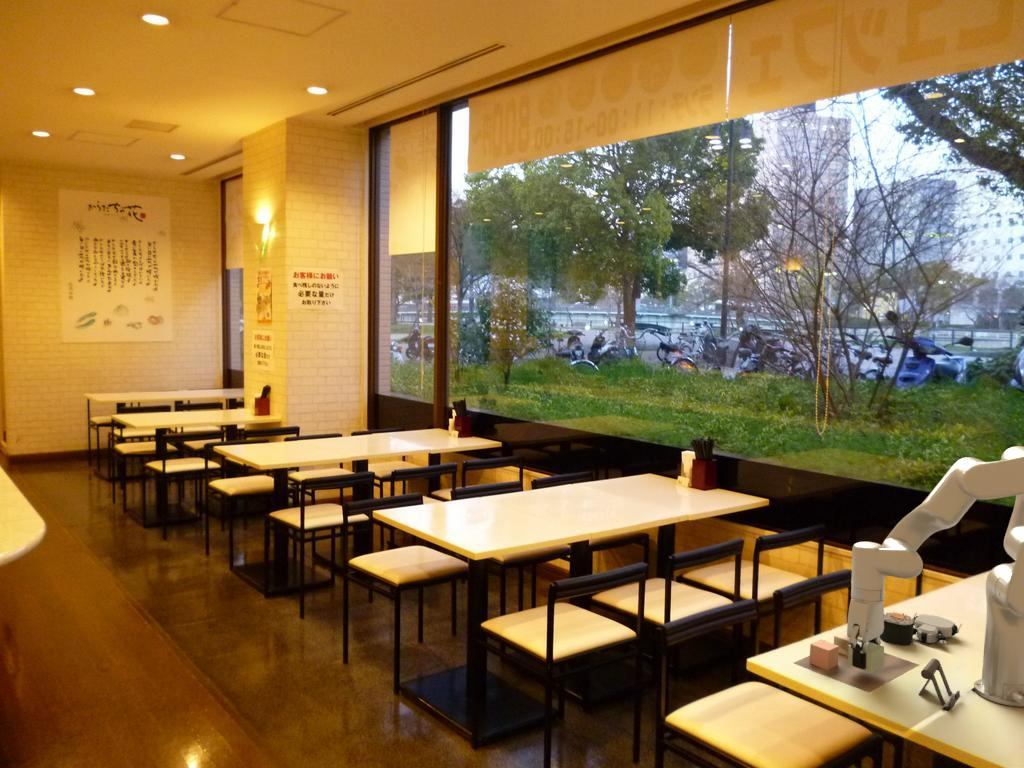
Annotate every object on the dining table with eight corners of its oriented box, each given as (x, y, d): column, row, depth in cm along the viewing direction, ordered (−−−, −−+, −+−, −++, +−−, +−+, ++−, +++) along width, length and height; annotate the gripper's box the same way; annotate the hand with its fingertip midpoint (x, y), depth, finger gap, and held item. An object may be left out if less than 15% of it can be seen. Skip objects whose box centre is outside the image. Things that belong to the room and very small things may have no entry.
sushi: (877, 644, 223) (879, 616, 222) (883, 635, 230) (885, 607, 229) (909, 652, 218) (911, 623, 217) (915, 642, 225) (917, 614, 224)
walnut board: (919, 668, 208) (919, 664, 208) (868, 696, 191) (868, 692, 191) (845, 642, 223) (845, 639, 223) (792, 666, 207) (793, 662, 207)
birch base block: (877, 653, 214) (878, 638, 214) (862, 660, 209) (863, 645, 209) (848, 643, 220) (849, 629, 220) (833, 650, 215) (834, 635, 215)
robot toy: (947, 654, 219) (962, 635, 230) (947, 639, 219) (962, 620, 230) (899, 641, 228) (915, 624, 238) (899, 626, 227) (916, 609, 238)
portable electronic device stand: (950, 713, 184) (953, 677, 183) (913, 701, 189) (915, 667, 189) (959, 700, 191) (962, 665, 190) (923, 689, 196) (925, 656, 195)
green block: (883, 666, 200) (884, 646, 200) (871, 672, 196) (872, 652, 196) (860, 658, 205) (860, 639, 204) (848, 664, 201) (848, 645, 201)
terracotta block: (837, 664, 206) (839, 645, 206) (827, 669, 203) (828, 650, 203) (819, 658, 210) (820, 639, 210) (809, 662, 207) (810, 644, 206)
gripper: (870, 582, 207) (868, 650, 209) (835, 596, 197) (833, 668, 198) (899, 589, 202) (897, 659, 203) (864, 604, 191) (862, 678, 192)
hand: (865, 663), depth 200 cm, fingers closed on green block, 6 cm apart
